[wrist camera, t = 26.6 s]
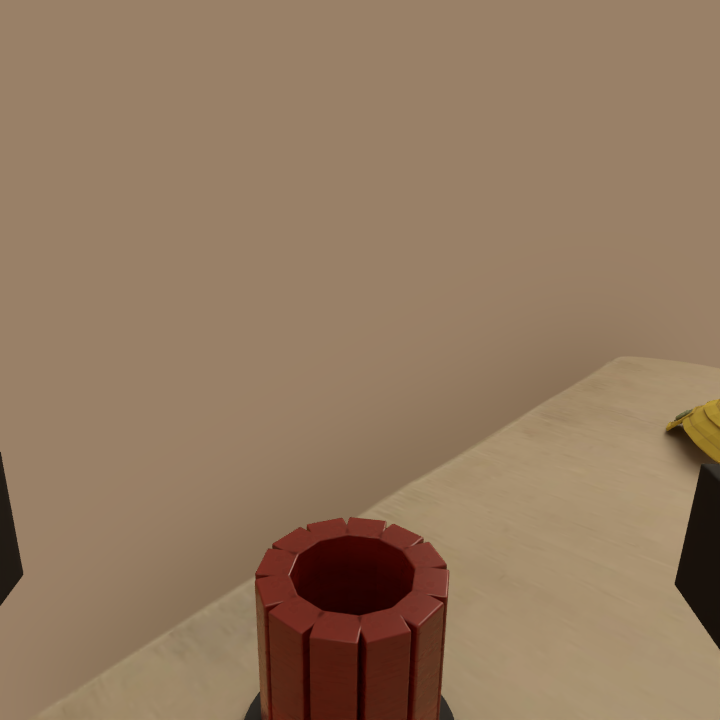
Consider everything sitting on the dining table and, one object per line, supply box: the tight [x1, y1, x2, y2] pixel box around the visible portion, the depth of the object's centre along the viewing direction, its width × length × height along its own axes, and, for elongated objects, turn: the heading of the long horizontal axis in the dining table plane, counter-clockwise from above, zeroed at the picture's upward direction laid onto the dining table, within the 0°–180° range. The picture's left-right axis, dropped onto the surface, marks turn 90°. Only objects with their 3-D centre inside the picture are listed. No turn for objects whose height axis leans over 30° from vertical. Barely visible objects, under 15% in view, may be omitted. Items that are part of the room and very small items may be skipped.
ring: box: [255, 517, 449, 720], centre depth 26 cm, size 7×7×8 cm
